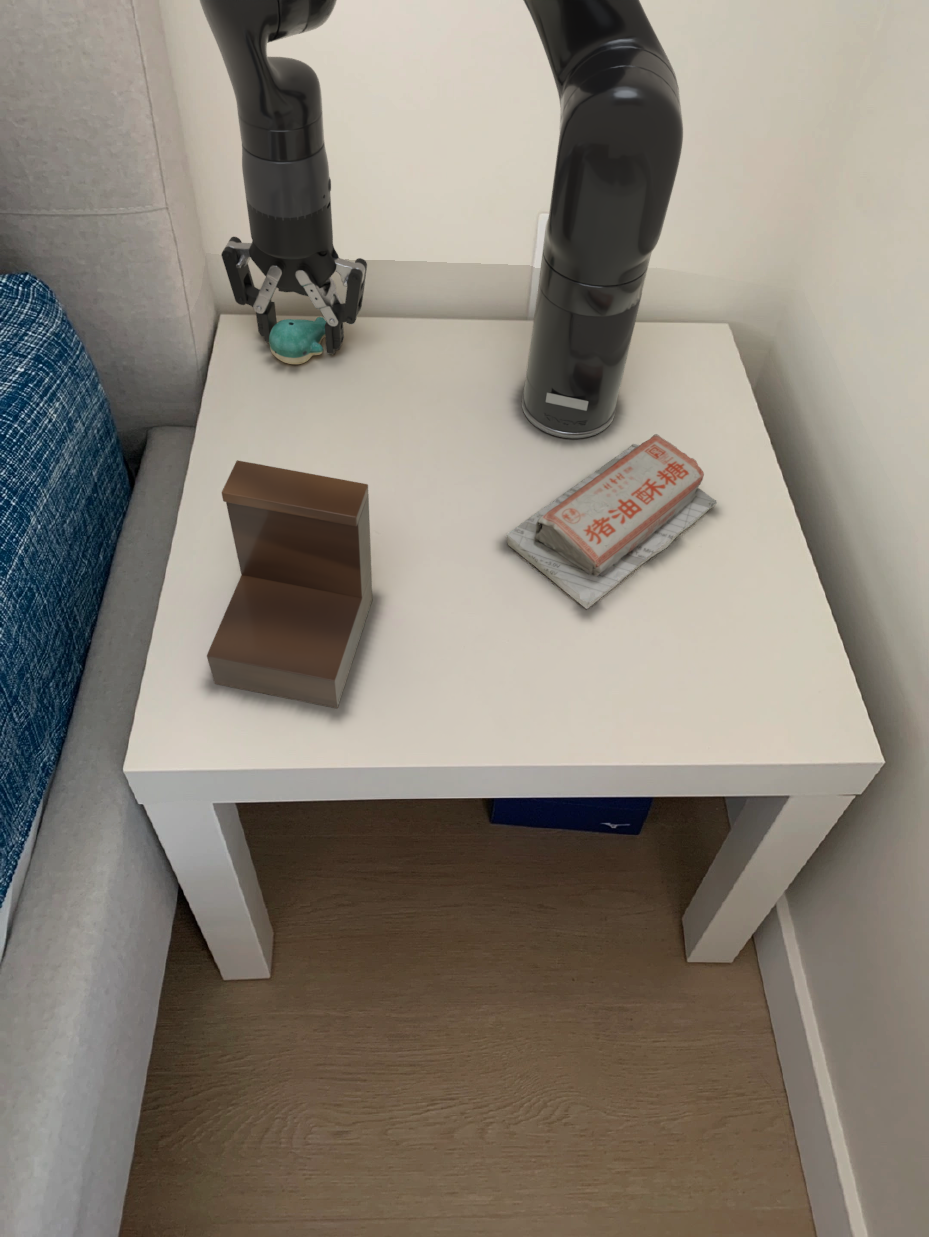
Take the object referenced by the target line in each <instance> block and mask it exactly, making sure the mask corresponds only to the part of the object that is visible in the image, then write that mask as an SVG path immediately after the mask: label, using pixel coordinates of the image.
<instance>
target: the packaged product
mask: <svg viewBox="0 0 929 1237" xmlns="http://www.w3.org/2000/svg"><path fill="white" fill-rule="evenodd" d="M704 476H705V473H704V471H703V469H702V468H701V467H700V466H699V464H698V462H697V460H696V459H695V458H694V457H690V456H689V455H687V453H685V452H683V451H681V450H680V449H679V448H678V447H677V446H675V445H674V444H673V443H671V442H669V440H666V439H665V438H663V437H662V436H660V435H659V434H657V433H655V434H653V435H652V436H651V437H650V438H649V439H647V440H646V441H644V442H641V443H640V444H638V443H637V444H636V443H632V444H631V445H629V447H628V448H627V449H624V451H622V452H621V453H620V454H618V455H616V456H615V457H614V458H612V459H611V460H609V461H608V462H606V463H605V464H604V465H602V466H601V467H600V468H598V469H596V470H595V471H594V472H592V473H591V474H589V475H588V476H587V477H586V478H584V479H582V480H581V481H580V482H578V483H577V484H576V485H575V486H573V487H571V488H570V489H568V490H567V491H566V492H564V493H563V494H561V495H560V496H558V497H557V498H556V499H554V500H553V501H552V502H551V503H549V504H548V505H546V506H544V507H543V508H541V509H540V510H539V511H537V512H536V513H534V514H533V515H531V516H530V517H528V518H527V519H526V520H525V521H523V522H521V523H520V524H519V525H518V526H517V527H515V528H513V529H512V530H510V531H508V532H507V534H506V541H507V545H508V546H509V547H510V548H511V549H512V550H514V551H515V552H516V553H518V554H519V555H520V556H521V557H523V558H524V559H525V560H526V561H527V562H529V563H530V564H531V565H533V567H535V568H536V569H537V570H539V571H540V572H541V573H542V574H544V576H546V577H547V578H548V579H549V580H551V581H552V582H553V583H554V584H555V585H557V586H558V587H559V588H560V589H562V590H563V591H564V592H566V594H568V595H569V596H570V597H571V598H572V599H574V600H575V601H576V602H577V603H579V604H580V605H581V606H582V607H583V608H585V609H586V610H588V609H589V608H591V607H592V606H593V605H594V604H595V603H596V602H599V600H600V599H601V598H603V597H604V596H605V595H606V594H607V593H609V592H610V591H611V590H612V589H613V588H615V587H616V586H618V585H619V584H620V583H621V582H622V581H623V580H624V579H625V578H626V577H627V576H629V575H630V574H631V573H633V572H634V571H635V570H636V569H638V568H639V567H641V566H642V565H643V564H645V563H646V562H648V560H650V559H652V558H653V557H655V556H656V555H658V554H659V553H661V552H662V551H664V550H665V549H667V548H668V547H669V546H670V545H671V544H672V542H673V541H674V540H675V539H676V538H677V537H678V536H679V535H680V534H681V533H682V532H684V531H686V529H688V528H690V526H692V525H693V524H695V523H696V522H697V521H698V520H699V519H700V518H702V516H704V515H705V514H706V513H707V512H708V511H709V510H711V509H712V508H713V507H715V505H716V504H717V503H718V502H717V501H718V500H716V499H714V498H713V497H711V496H710V495H709V494H707V493H706V492H705V491H703V490H702V489H701V488H699V487H700V485H701V483H702V482H703V479H704V478H705V477H704Z"/></svg>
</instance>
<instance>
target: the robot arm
mask: <svg viewBox="0 0 929 1237" xmlns="http://www.w3.org/2000/svg"><path fill="white" fill-rule="evenodd" d="M337 1H338V0H199V3H200V6H201V10H202V11H203V14H204V17H205V19H206V21H207V24H208V27H209V28H210V30H211V33H212V35H213V37H214V40H215V42H216V45H217V47H218V50H219V52H220V54H221V57H222V61H223V64H224V66H225V68H226V72H227V75H228V78H229V81H230V83H231V87H232V90H233V94H234V96H235V101H236V109H237V110H236V111H237V118H238V125H239V132H240V141H241V172H242V179H243V186H244V192H245V202H246V209H247V216H248V223H249V232H250V237H251V242H242V240H241V239H240V238H239V237H237V236H231V237H230V238H229V240H228V242H227V243H226V245H225V247H224V248H223V250H222V252H221V259H222V263H223V265H224V268H225V271H226V275H227V278H228V281H229V284H230V288H231V291H232V294H233V297H234V301H235V302H236V303H237V304H238V305H240V306H246V305H248V306H250V307H252V308H253V311H254V312H255V316H256V323H257V330H258V334H259V336H260V337H263V338H264V339H263V340H264V342H265V343H268V344H269V335H270V332H271V330H272V328H273V327H274V325H275V324H276V323H278V321H277V311H276V303H275V301H272V298H273V296H274V294H275V292H276V290H278V292H282V293H295V294H298V295H300V296H305V297H308V298H309V300H310V301H311V303H312V305H313V306H314V308H315V309H316V310H319V312H320V313H321V315H322V317H323V318H324V319H325V321H326V324H325V336H326V337H325V348H326V349H325V350H326V354H330V355H335V353H336V352H337V351H339V350H340V348H341V346H342V344H343V341H344V339H345V327H344V325H345V324H344V323H346V324H349V325H354V324H355V323H356V320H357V317H358V315H359V312H360V311H361V310H362V306H363V300H364V299H363V298H364V292H365V284H366V278H367V269H368V262H367V261H366V260H365V259H364V258H362V257H359V258H356V259H355V261H351V260H347V259H343V258H340V257H339V255H338V252H337V250H336V249H335V246H334V235H333V234H334V232H333V231H334V230H333V219H332V218H333V214H332V198H331V196H332V195H331V191H332V181H331V177H330V166H329V159H328V154H327V151H326V150H327V149H326V145H325V144H326V143H325V134H324V133H325V131H324V130H325V129H324V116H323V98H322V89H321V84H320V79H319V77H318V75H317V73H316V72H315V70H314V69H313V68H312V67H311V66H310V65H309V64H307V63H306V62H303V61H302V60H299V59H296V58H292V57H284V56H268V52H267V51H268V43H272V42H276V41H279V40H283V39H286V38H289V37H293V36H297V35H299V34H304V33H307V32H311V31H314V30H316V29H318V28H321V27H322V26H323V25H324V24H325V23H326V22H327V21H328V20H329V18H330V17H331V16H332V13H333V12H334V9H335V7H336V4H337ZM522 1H523V4H524V5H525V7H526V9H527V11H528V12H529V15H530V17H531V20H532V21H533V25H534V26H535V29H536V31H537V33H538V36H539V39H540V42H541V44H542V47H543V49H544V53H545V56H546V58H547V60H548V64H549V67H550V70H551V73H552V77H553V80H554V83H555V87H556V90H557V94H558V95H557V96H558V99H559V109H560V110H559V134H558V143H557V152H556V158H555V159H556V160H555V167H554V174H553V181H552V190H551V198H550V204H549V213H548V217H547V220H546V223H545V227H544V228H545V229H544V237H543V245H542V252H541V260H540V269H539V276H538V284H537V292H536V299H535V300H536V301H535V306H534V307H535V308H534V314H533V321H532V329H531V337H530V344H529V353H528V358H527V366H526V367H527V368H526V374H525V381H524V388H523V391H522V396H521V408H522V411H523V413H524V415H525V417H526V419H527V420H528V421H529V422H530V423H531V424H532V425H533V426H534V427H536V428H537V429H539V430H540V431H542V432H544V433H547V434H548V435H552V436H555V437H558V438H564V439H585V438H589V437H592V436H593V437H594V436H595V435H597V434H600V433H602V432H603V431H604V430H606V429H607V428H608V427H609V426H610V425H611V424H612V423H613V420H614V418H615V414H616V410H617V402H618V397H619V393H620V389H621V385H622V380H623V378H624V372H625V369H626V365H627V360H628V356H629V351H630V348H631V342H632V340H633V339H632V338H633V334H634V330H635V325H636V321H637V318H638V312H639V308H640V304H641V300H642V296H643V290H644V286H645V282H646V277H647V274H648V268H649V265H650V261H651V258H652V253H653V251H654V249H655V248H656V246H657V245H658V243H659V241H660V237H661V234H662V231H663V227H664V223H665V220H666V216H667V213H668V208H669V204H670V200H671V196H672V193H673V189H674V186H675V182H676V177H677V173H678V169H679V165H680V160H681V157H682V156H681V155H682V149H683V144H684V143H683V142H684V141H683V140H684V122H683V115H682V105H681V96H680V89H679V88H680V87H679V83H678V80H677V75H676V72H675V69H674V68H673V66H672V63H671V62H670V59H669V57H668V55H667V53H666V51H665V49H664V47H663V46H662V44H661V42H660V39H659V38H658V36H657V34H656V32H655V29H654V28H653V26H652V24H651V22H650V19H649V18H648V15H647V14H646V12H645V10H644V7H643V6H642V3H641V1H640V0H522ZM250 260H251V261H252V262H253V263H254V264H255V265H256V266H257V268H258V269H259V271H260V272H261V273H262V274H263V275H264V277H265V278H264V280H263V283H262V284H261V287H260V288H258V287H255V284H254V280H253V276H252V273H251V270H250V267H249V266H250V265H249V262H250ZM335 273H338V274H339V276H340V279H341V282H342V286H343V287H346V292H345V293H346V294H345V300H344V301H345V302H343V301H342V300H341V298H340V296H339V293H338V292H337V284H336V282H335V281H334V279H333V278H332V276H333V275H334V274H335Z"/></svg>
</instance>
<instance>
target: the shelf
mask: <svg viewBox="0 0 929 1237" xmlns="http://www.w3.org/2000/svg"><path fill="white" fill-rule="evenodd" d="M369 494H370V493H369V484H368V483H363V482H358V481H353V480H352V481H351V480H347V479H341V478H336V477H331V476H325V475H320V474H313V473H309V472H304V471H299V470H294V469H293V470H291V469H288V468H282V467H275V466H270V465H266V464H259V463H254V462H248V461H242V460H235V463H234V466H233V468H232V469H231V471H230V473H229V476H228V478H227V480H226V482H225V484H224V486H223V488H222V490H221V497H222V501H223V502H224V503H225V504H226V508H227V514H228V518H229V523H230V529H231V532H232V533H231V534H232V537H233V541H234V542H233V543H234V547H235V550H236V557H237V561H238V566H239V570H240V577H239V579H238V582H237V584H236V587H235V588H234V591H233V594H232V596H231V598H230V600H229V603H228V605H227V608H226V610H225V612H224V614H223V617H222V618H221V622H220V624H219V626H218V628H217V630H216V633H215V634H214V635H215V636H214V637H213V640H212V642H211V645H210V646H209V649H208V651H207V654H206V658H207V662H208V665H209V669H210V673H211V676H212V680H213V683H214V684H215V685H219V686H224V687H229V688H234V689H239V690H245V691H249V692H254V693H258V694H264V695H269V696H273V697H279V698H284V699H288V700H289V699H290V700H293V701H298V702H304V703H309V704H314V705H318V706H324V707H329V708H334V709H338V708H339V705H340V702H341V698H342V695H343V693H344V690H345V686H346V683H347V680H348V677H349V674H350V671H351V667H352V665H353V661H354V658H355V655H356V652H357V649H358V646H359V643H360V640H361V635H362V633H363V630H364V627H365V624H366V621H367V618H368V615H369V612H370V608H371V606H372V602H373V580H372V579H373V578H372V577H373V576H372V575H373V574H372V549H371V547H372V546H371V520H370V500H369V499H370V497H369Z"/></svg>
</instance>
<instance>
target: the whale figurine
mask: <svg viewBox="0 0 929 1237" xmlns="http://www.w3.org/2000/svg"><path fill="white" fill-rule="evenodd" d="M325 324H326V320H325V318H324V316H319V317H317V318H315V320H310V319H302V318H301V319H298V318H297V319H295V318H293V319H292V318H285V319H281V320H279V321H277V323H276V324H275V325H274V327H273V328H272V330H271V332H270V335H269V343H268V344H269V350H270V351H271V354H272V355H273V356H274V357H275V358H276V359H278V360H279V361H281V362H283V363H285V364H288V365H300V364H301V365H302V364H304V363H307V362H308V361H309V360H310V359H311V358H312V357H313V356H319V355H321V354H323V353H324V347H323V345H322V344H321V343H322V341H323V339H324V338H326V336H325Z"/></svg>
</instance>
